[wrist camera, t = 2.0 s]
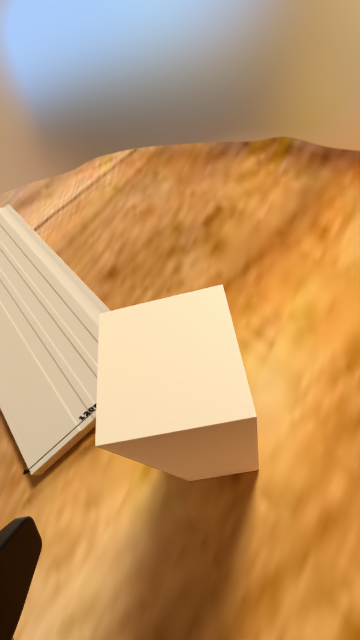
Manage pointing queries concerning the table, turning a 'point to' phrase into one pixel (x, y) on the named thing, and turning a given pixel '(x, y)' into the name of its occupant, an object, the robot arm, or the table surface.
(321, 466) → the table surface
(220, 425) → the cream rectangular block
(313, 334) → the table surface
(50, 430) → the baseboard molding
